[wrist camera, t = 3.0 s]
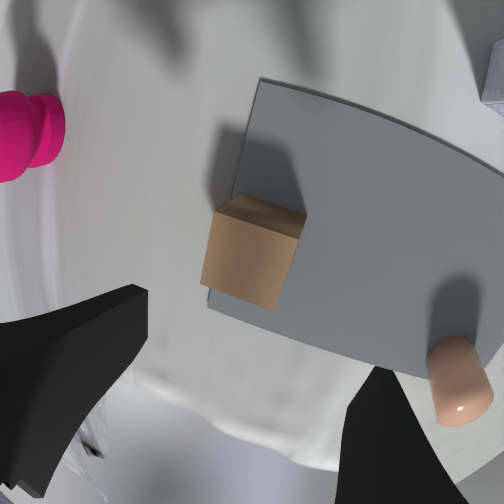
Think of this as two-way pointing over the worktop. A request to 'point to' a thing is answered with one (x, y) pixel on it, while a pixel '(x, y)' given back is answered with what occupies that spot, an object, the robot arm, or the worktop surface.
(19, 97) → the pepper mill
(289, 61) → the worktop surface
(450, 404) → the peach capsule
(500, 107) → the medicine box
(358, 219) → the mat
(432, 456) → the robot arm
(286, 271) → the walnut block
